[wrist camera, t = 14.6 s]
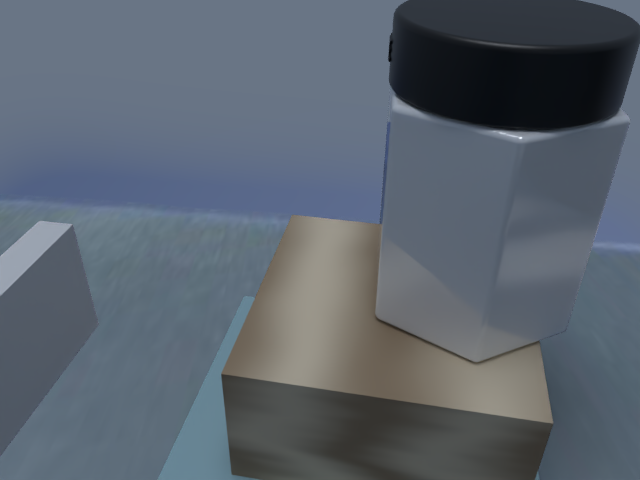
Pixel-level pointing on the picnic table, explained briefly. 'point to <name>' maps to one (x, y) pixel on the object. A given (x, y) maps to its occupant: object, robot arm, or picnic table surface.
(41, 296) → the robot arm
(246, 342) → the base block
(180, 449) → the build board
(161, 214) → the picnic table surface
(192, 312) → the picnic table surface
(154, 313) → the picnic table surface
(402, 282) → the jar
